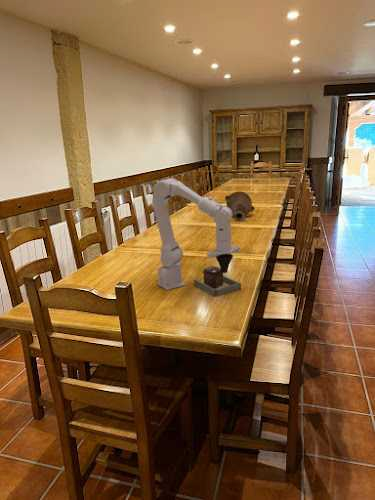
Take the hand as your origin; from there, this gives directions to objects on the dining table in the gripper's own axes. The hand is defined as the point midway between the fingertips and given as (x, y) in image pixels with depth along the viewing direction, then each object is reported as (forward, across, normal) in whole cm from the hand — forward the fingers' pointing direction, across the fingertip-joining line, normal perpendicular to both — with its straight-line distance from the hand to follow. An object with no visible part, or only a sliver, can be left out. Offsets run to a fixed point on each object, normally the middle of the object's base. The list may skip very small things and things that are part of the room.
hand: (224, 272), depth 148 cm
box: (+8, 0, +8) cm, 11 cm away
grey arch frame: (+8, 0, +5) cm, 9 cm away
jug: (+8, +96, +109) cm, 145 cm away
